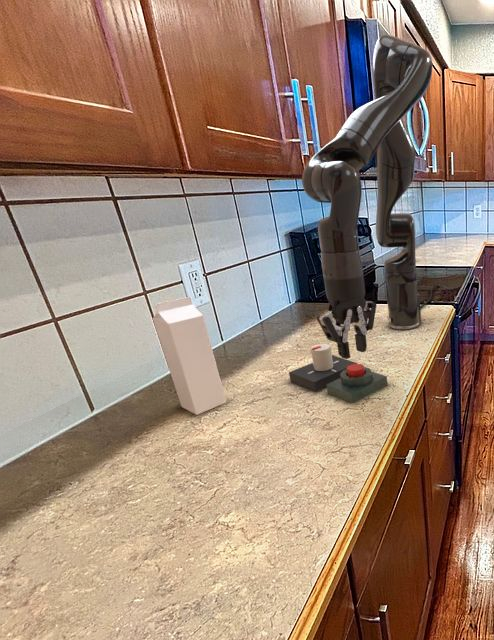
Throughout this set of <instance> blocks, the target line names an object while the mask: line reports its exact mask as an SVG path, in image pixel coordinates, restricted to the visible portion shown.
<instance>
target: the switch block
mask: <svg viewBox="0 0 494 640" xmlns="http://www.w3.org/2000/svg"><path fill="white" fill-rule="evenodd" d="M364 370H365V375H362V376H359V377H349V376H348V374H347V369H346V370H344V371H342V373H341V374H340V378H339V379H337V380H335V381H333V382H331V383H329V384H326V386H327V387H326V391H327V394H328V395H331V396H332V397H336V398H338V399H341V400H343V401H346V402H348V403H351V404H355V403H356V402H359V401H360V400H362V399H364V398H366V397H368V396H369V395H371V394H373V393H375V392H377V391H380V390H381V389H383V388H384V387H387V386H388V385H389V384H388V378H387V376H386V375H384V374H381V373H377V372H374V371H373V370H372V369H371V368H370V367H366V366H364Z"/></svg>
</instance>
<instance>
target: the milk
mask: <svg viewBox="0 0 494 640" xmlns="http://www.w3.org/2000/svg"><path fill="white" fill-rule="evenodd" d="M154 306H155V309H156V313H155V314H154V316H153V317H152V321H153V324H154V327H155V330H156V333H157V336H158V339H159V342H160V345H161V348H162V351H163V354H164V358H165V361H166V365H167V367H168V370H169V373H170V376H171V379H172V383H173V385H174V388H175V392H176V394H177V397H178V400H179V404H180V407H181V408H182V409H185V410H187V411H188V412H190V413H192V414H194V415H196V416H198V415H200V414H203V413H205V412H207V411H210V410H212V409H214V408H217V407H219V406H222V405H224V404H226V403H227V398H226V395H225V391H224V387H223V384H222V381H221V376H220V372H219V369H218V365H217V362H216V358H215V354H214V351H213V348H212V344H211V340H210V335H209V333H208V329H207V325H206V322H205V318H204V314H202V313H201V311H200V310H198V308H197V307H196V306H195V305H194V304H193V301H192V298H191V297H190V296H188V297H187V296H185V297H182V298H177V299H172V300H168V301H163V302H158V303H156V304H154Z"/></svg>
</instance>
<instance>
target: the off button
mask: <svg viewBox="0 0 494 640" xmlns="http://www.w3.org/2000/svg"><path fill="white" fill-rule="evenodd" d="M364 367H365V365H363V364H362V363H357V364H352V365H349V366H348V367H347V374H348V376H349V377H359V376H362V375H365V370H364Z"/></svg>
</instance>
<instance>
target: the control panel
mask: <svg viewBox="0 0 494 640" xmlns="http://www.w3.org/2000/svg"><path fill="white" fill-rule="evenodd" d="M332 360H333V368H331V369H329V370H326V371H316V370H315V369H314V365H313V362H311V363H309V364H306V365H304V366H301V367H299V368H295V369H293V370H291V371H288V375H289V380H290V383H291V384H294V385H297V386H300V387H302V388H304V389H308V390H309V391H312V392H315V393H317V392H320V391H322V390H324V389H327V386H326V384H329V383H331V382H333V381H335V380H337V379H339V378H340V374H341V373H342V371H344V370H346V369H347V367H348V366H349V365H352V364H358V362H356V361H352V360H349V359H345V358H342V357H341V356H336V355H334V354H332Z"/></svg>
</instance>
